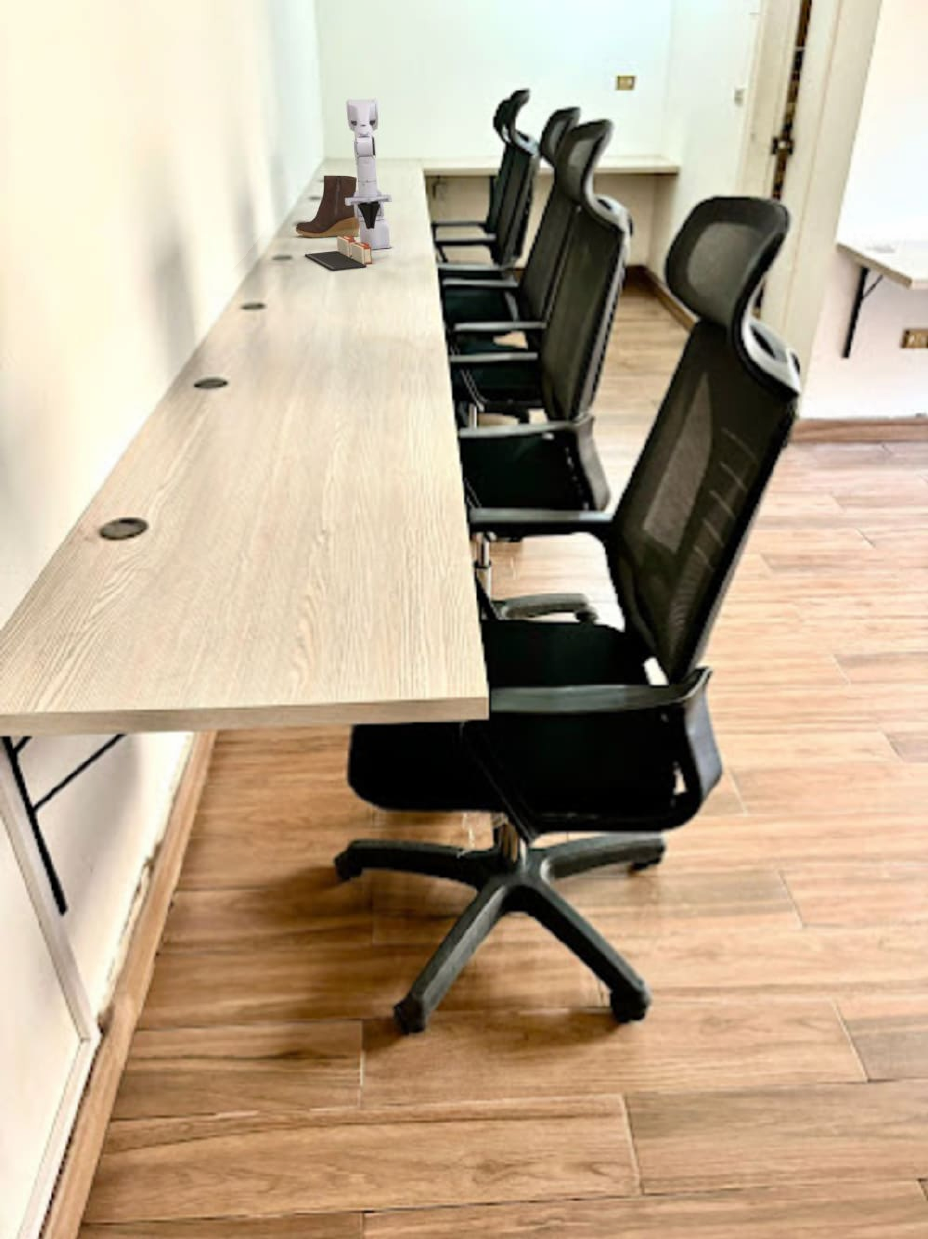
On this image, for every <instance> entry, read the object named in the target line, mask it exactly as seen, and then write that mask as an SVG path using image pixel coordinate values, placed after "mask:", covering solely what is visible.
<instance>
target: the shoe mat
mask: <svg viewBox="0 0 928 1239" xmlns="http://www.w3.org/2000/svg"><path fill="white" fill-rule="evenodd" d="M304 256H305V257H306V258H308V259H309V260H311V261H314V262H315V263H316V264H319V265H321V266H322V267H324V268H326V269H328V270H330V271H331V272H336V271H346V270H354V269H355V270H356V269H364V268H367V264H365V265H364V264H362V263H360V262H358V261H356V260H354V259H352V257H348V256H346V255H344V254H342V253H340V252H338V250H333V251H332V250H330V251H323V252H322V251H321V252H313V253H305V254H304Z"/></svg>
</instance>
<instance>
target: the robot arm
mask: <svg viewBox="0 0 928 1239" xmlns="http://www.w3.org/2000/svg"><path fill="white" fill-rule="evenodd" d="M345 102H346V104H345V105H346V117H347V124H348V127H349V130H350V131H352V132H353V133H354V140H353V153H354V159H355V165H356V178H357V188H358V189H356V192H355V193H354V197H351V198H345V205H347V206H349V205H354V213H355V217H356V219H358V218H359V240H360V242H364V243H367V244H369V246H370V247H371V251H372V250H380V249H390V248H392V246H391V242H390V241H391V240H390V227H389V222H388V220H387V219H386V218H384V217H385V206H384V203H391V202H392V195H391V194H383V193H382V191H381V190H379V188H378V185H377V184H378V182H377V167H376V158H377V147H376V146H377V144H376V143H377V142H376V139H375V138H376V137H375V136H374V132H375V131H376V130H378V126H379V107H378V100H377V99H376V98H373V99H372V98H371V99H347V100H346V101H345Z"/></svg>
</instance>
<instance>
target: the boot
mask: <svg viewBox="0 0 928 1239" xmlns="http://www.w3.org/2000/svg"><path fill="white" fill-rule="evenodd" d="M357 183H358V177H357V176H351V175H326V174H325V175H323V191H322V197H321V200H320V203H319V206H318V208H317V210H316V214H315V216H314V217H313V219H311V220H310V221H302V222H301V221H300V222H298V223H297V224H296V226H295V232H296V233H297V234H298V235H301V236H305V237H309V238H317V239H321V238H328V237H340V236H351V237H353V238H355V237H358V236H359V233H360V227H359V218H358V219H356V217H355V213H354V205H349V206H347V205H345V198H351V197H354V193H355V192H356V191H357Z"/></svg>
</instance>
